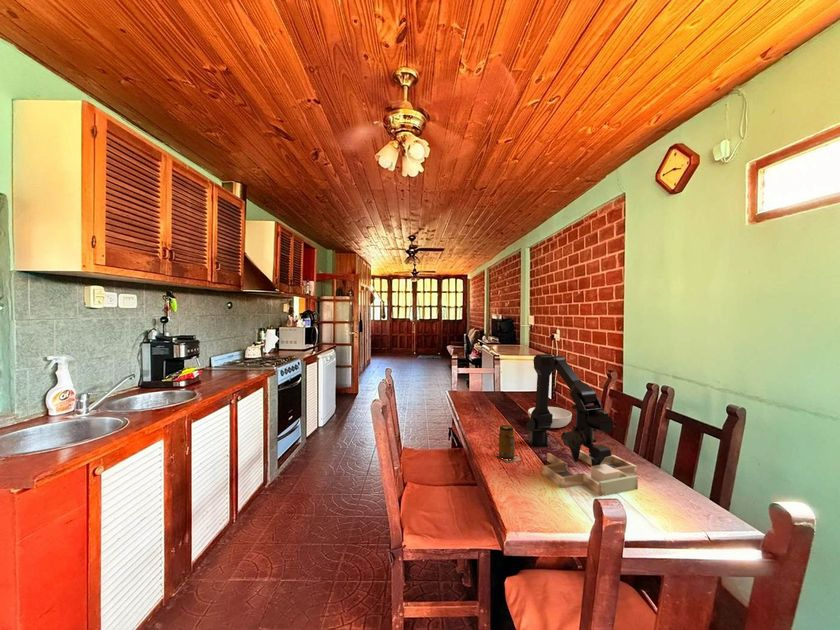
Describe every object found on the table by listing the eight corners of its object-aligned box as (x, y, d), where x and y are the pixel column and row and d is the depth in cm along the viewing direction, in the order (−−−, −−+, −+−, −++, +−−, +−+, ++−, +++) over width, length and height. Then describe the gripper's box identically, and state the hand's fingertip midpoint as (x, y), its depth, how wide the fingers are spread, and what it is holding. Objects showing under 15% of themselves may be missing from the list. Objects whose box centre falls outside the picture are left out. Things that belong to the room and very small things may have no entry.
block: (590, 480, 122) (590, 466, 122) (605, 478, 124) (605, 463, 124) (604, 489, 116) (604, 473, 116) (619, 486, 118) (619, 471, 118)
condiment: (509, 452, 147) (509, 423, 147) (521, 460, 139) (521, 429, 139) (493, 454, 145) (493, 425, 145) (505, 463, 137) (505, 431, 137)
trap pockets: (542, 474, 127) (542, 465, 127) (613, 462, 137) (613, 454, 136) (561, 488, 117) (561, 478, 117) (637, 474, 127) (637, 465, 127)
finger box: (547, 461, 138) (547, 450, 138) (578, 456, 142) (578, 446, 142) (601, 495, 112) (601, 483, 112) (637, 488, 116) (637, 476, 116)
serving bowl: (523, 419, 192) (523, 406, 192) (563, 419, 191) (562, 406, 191) (534, 432, 171) (534, 417, 171) (579, 432, 170) (579, 417, 170)
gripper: (549, 418, 136) (549, 459, 136) (585, 435, 118) (585, 482, 118) (573, 416, 139) (573, 456, 139) (612, 431, 121) (612, 477, 121)
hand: (584, 467), depth 129 cm, fingers open, 9 cm apart
